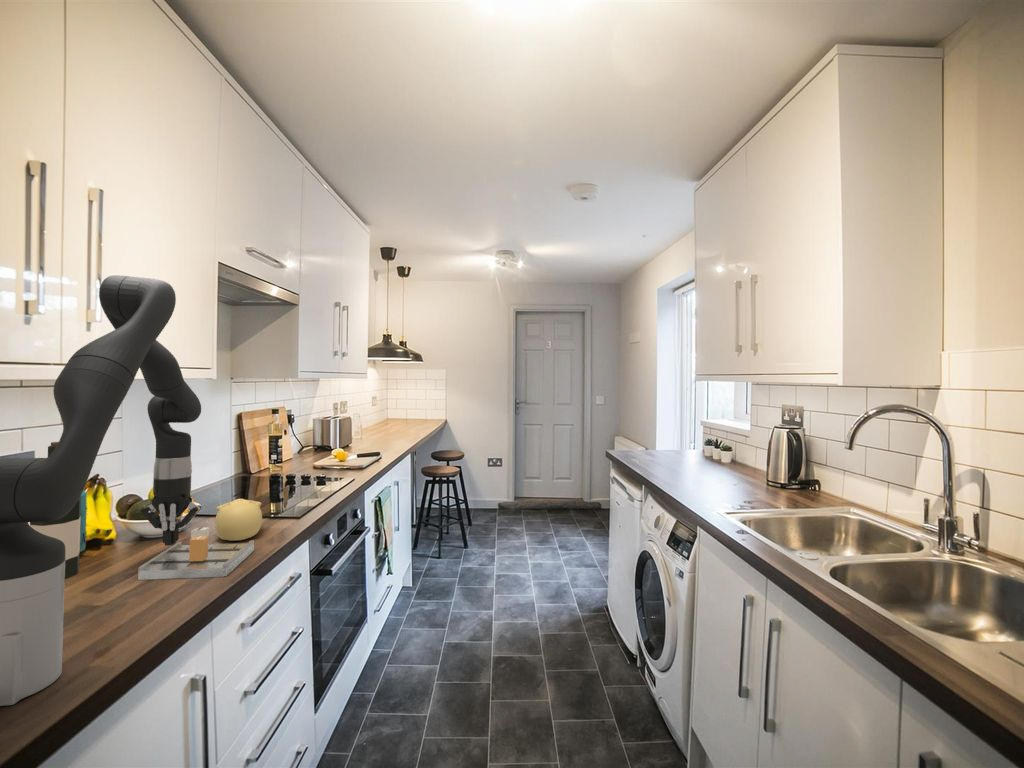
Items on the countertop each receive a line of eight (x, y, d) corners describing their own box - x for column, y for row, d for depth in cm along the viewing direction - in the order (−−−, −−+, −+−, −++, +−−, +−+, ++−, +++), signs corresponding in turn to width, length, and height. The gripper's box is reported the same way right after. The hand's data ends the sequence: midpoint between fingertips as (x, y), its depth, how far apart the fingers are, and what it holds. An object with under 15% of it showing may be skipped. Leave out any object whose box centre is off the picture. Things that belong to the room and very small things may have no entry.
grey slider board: (226, 576, 104) (226, 564, 104) (138, 579, 101) (138, 567, 101) (253, 550, 119) (254, 540, 119) (178, 552, 116) (178, 542, 116)
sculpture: (260, 528, 137) (261, 493, 137) (263, 540, 127) (264, 502, 127) (215, 534, 131) (216, 497, 131) (214, 547, 121) (215, 507, 121)
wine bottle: (16, 585, 96) (20, 445, 96) (44, 569, 104) (48, 439, 104) (64, 582, 98) (69, 444, 98) (88, 566, 106) (92, 439, 106)
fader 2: (203, 560, 106) (203, 538, 106) (189, 561, 105) (189, 539, 105) (207, 557, 108) (208, 535, 108) (194, 557, 108) (194, 535, 107)
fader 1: (203, 550, 112) (204, 529, 112) (190, 550, 112) (191, 529, 112) (208, 546, 114) (208, 526, 114) (195, 547, 114) (195, 526, 114)
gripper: (132, 478, 107) (130, 551, 107) (194, 477, 109) (192, 549, 109) (152, 471, 114) (150, 539, 114) (209, 471, 117) (207, 538, 117)
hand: (170, 544), depth 112 cm, fingers closed
